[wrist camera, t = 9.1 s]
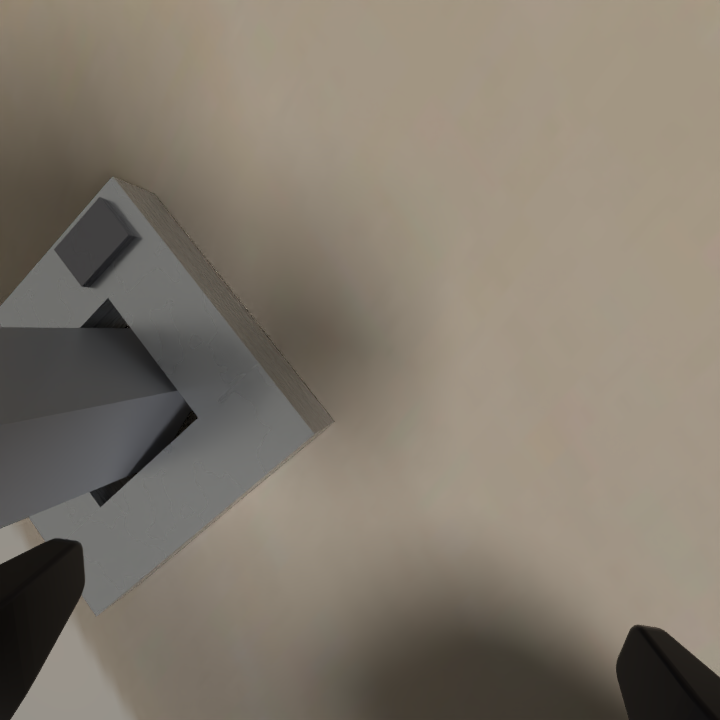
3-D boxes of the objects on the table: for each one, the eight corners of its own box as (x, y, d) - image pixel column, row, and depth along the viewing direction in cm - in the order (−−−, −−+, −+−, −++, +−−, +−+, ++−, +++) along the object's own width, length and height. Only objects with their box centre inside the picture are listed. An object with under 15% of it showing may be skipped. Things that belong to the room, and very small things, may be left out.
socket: (334, 421, 20) (310, 436, 17) (137, 586, 23) (88, 622, 20) (154, 193, 21) (104, 172, 19) (-10, 375, 24) (-74, 381, 21)
